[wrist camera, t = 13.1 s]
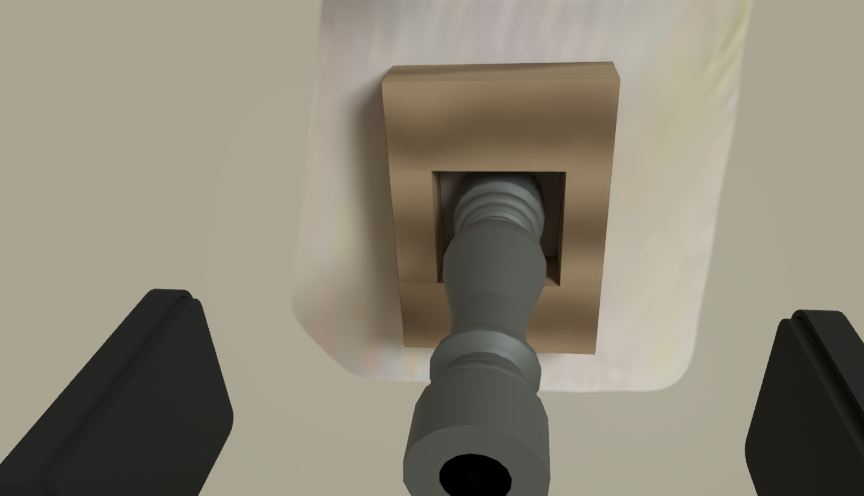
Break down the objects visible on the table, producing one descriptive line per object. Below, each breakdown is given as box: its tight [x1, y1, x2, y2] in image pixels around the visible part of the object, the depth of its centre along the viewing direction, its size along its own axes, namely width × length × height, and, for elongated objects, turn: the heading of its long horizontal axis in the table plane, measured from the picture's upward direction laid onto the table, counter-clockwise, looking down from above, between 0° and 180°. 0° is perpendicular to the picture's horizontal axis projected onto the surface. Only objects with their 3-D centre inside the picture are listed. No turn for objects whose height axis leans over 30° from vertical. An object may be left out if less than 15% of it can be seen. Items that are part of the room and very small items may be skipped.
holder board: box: [381, 62, 620, 354], centre depth 45 cm, size 20×14×4 cm
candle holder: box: [403, 171, 550, 496], centre depth 36 cm, size 6×6×25 cm
